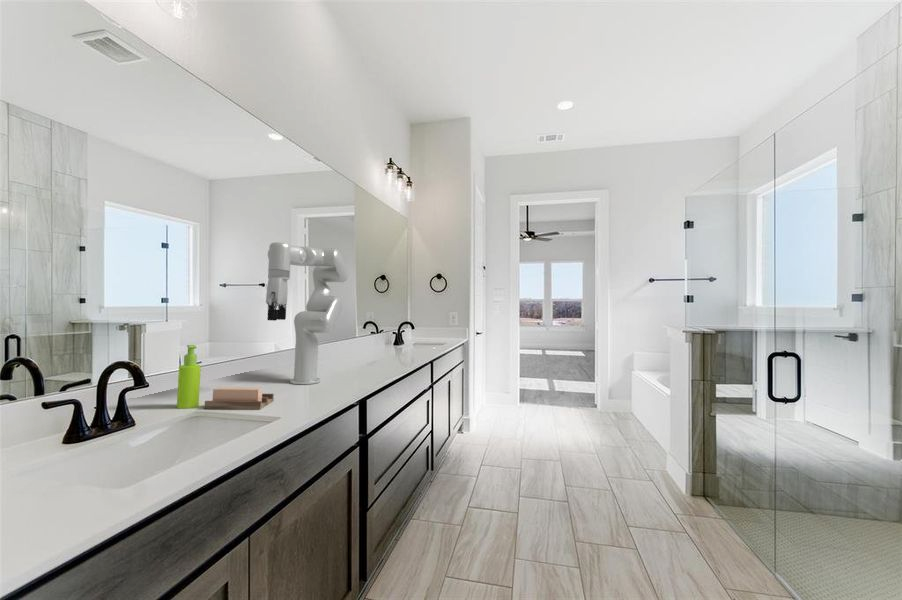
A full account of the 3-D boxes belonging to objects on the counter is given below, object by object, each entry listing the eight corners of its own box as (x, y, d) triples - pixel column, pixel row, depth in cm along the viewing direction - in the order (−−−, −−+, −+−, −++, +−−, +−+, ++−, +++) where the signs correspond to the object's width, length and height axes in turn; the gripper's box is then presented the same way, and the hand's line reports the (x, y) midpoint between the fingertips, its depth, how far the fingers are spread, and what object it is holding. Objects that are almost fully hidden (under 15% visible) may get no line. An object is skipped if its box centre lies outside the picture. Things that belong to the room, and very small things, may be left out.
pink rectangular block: (217, 402, 127) (218, 387, 127) (261, 402, 128) (262, 387, 128) (212, 404, 123) (213, 389, 124) (257, 405, 125) (258, 389, 125)
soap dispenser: (178, 410, 119) (181, 346, 120) (175, 405, 125) (179, 344, 125) (200, 407, 123) (203, 345, 124) (197, 403, 128) (200, 343, 129)
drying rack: (222, 400, 134) (223, 393, 134) (273, 400, 135) (273, 393, 135) (204, 409, 122) (204, 401, 122) (260, 409, 123) (260, 401, 123)
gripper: (276, 276, 154) (274, 319, 154) (259, 272, 137) (257, 320, 137) (295, 277, 155) (293, 319, 155) (281, 273, 138) (279, 321, 137)
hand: (276, 319), depth 146 cm, fingers open, 9 cm apart
